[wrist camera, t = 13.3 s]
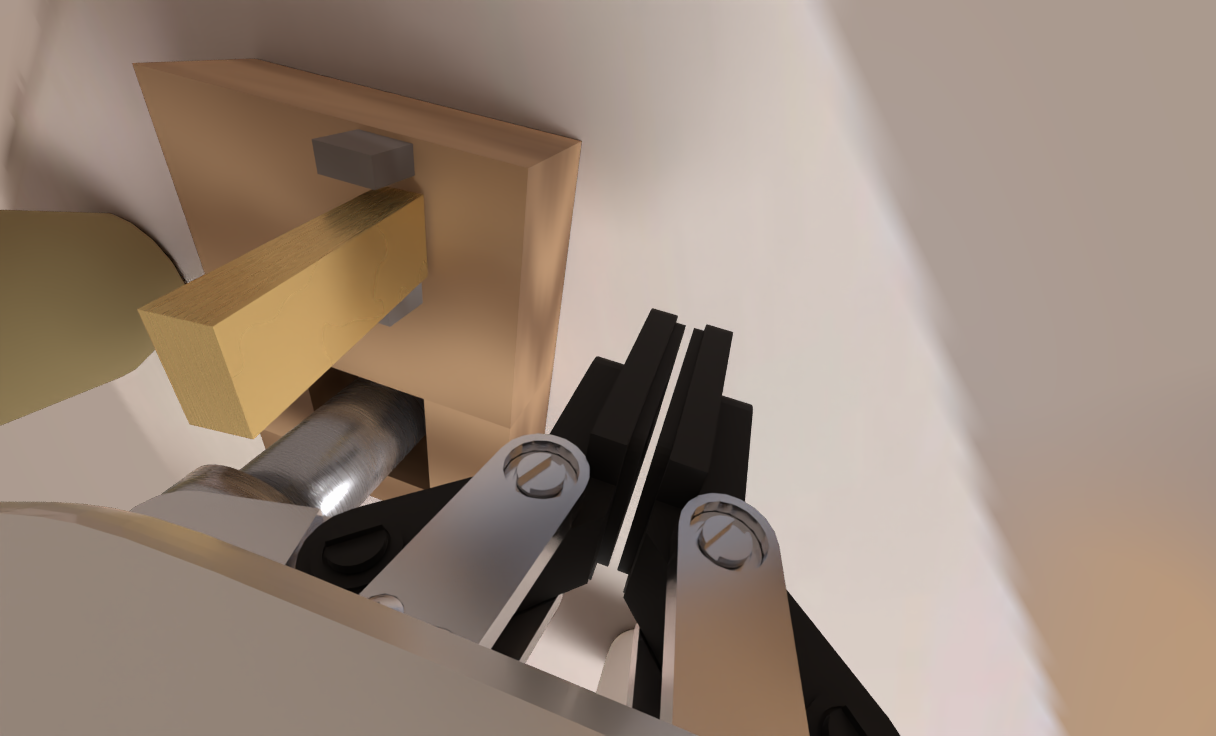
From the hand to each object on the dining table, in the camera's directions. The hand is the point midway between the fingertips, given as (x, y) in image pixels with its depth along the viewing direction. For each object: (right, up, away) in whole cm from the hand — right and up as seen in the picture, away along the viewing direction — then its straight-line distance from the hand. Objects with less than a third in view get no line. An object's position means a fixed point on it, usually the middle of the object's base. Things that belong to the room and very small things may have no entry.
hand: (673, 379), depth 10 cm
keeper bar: (-8, +2, +1) cm, 8 cm away
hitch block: (-9, +3, +10) cm, 14 cm away
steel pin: (-10, 0, +13) cm, 16 cm away
